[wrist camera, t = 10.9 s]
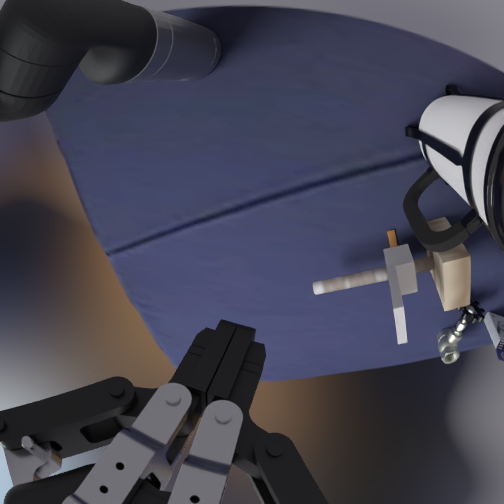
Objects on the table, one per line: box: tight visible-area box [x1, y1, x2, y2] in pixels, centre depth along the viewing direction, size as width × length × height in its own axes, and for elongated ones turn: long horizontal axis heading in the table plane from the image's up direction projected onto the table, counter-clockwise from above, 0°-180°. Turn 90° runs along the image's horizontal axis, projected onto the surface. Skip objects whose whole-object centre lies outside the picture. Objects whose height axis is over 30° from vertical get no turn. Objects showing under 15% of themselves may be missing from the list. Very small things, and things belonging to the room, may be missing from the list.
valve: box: [437, 301, 485, 364], centre depth 45 cm, size 7×7×12 cm
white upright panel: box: [383, 244, 418, 344], centre depth 37 cm, size 4×6×14 cm, turn 23°
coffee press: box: [403, 85, 504, 252], centre depth 22 cm, size 17×16×30 cm
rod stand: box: [313, 217, 471, 311], centre depth 41 cm, size 23×8×12 cm, turn 113°
